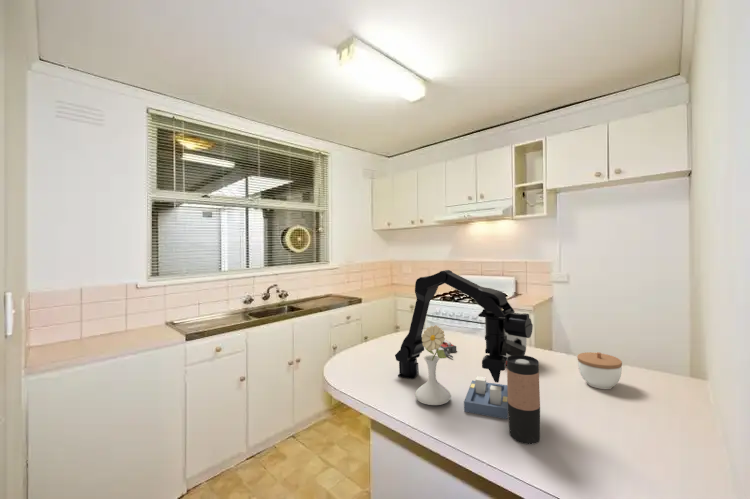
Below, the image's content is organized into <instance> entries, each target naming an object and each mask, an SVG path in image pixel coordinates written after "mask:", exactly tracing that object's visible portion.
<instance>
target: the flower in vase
mask: <svg viewBox="0 0 750 499" xmlns="http://www.w3.org/2000/svg"><path fill="white" fill-rule="evenodd" d="M444 341H446V338H445V331H444V330H443V329H442V328H441V327H439V326H438V325H430V326H429V327H426V329H425V330H423V333H422V342H423V343H422V345H423V346H424V350H426V351H427V353H430V355H429V354H428V355H426V356H424V357H423V360H424V361H425V363H426V365H427V369H428V379H427V381H425V382H424V383H423V384H422V385H420V386H419V387H418V388H417V389H416V391H415V394H414V395H415V399H416V400H417V401H418V402H420V403H422V404H424V405H429V406H442V405H445V404H447V403H449V401H450V400H451V398H452V395H451V392H450V391H449V390H448V389H447V388H446V387H445V386H444V385H443V384H441V383H440V382H439V381H438V379H437V374H436V373H437V372H436V371H437V364H438V362H439V360H440V359H447V357H448V356H447V355H445V353H444V351H443V350H438V349H439V348H440V347H441V345H442V344H443V342H444ZM434 350H435V353H434ZM436 350H437V351H436ZM431 354H432V355H431Z"/></svg>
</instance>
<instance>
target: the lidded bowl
mask: <svg viewBox="0 0 750 499" xmlns="http://www.w3.org/2000/svg"><path fill="white" fill-rule="evenodd" d="M576 357H577V366H578V370H579V375H580V376H581V377H582V379H583V380H584V381H585V382H586V383H587V385H588V386H589V387H592V388H595V389H598V390H611V389H612V388H613V387H614V386H616V385H618V383H619V382H620V380H621V377H622V366H623V361H622V360H621V359H620V358H618V357H616V356H613V355H610V354H605V353H602V352H581V353H578V354H577V356H576Z"/></svg>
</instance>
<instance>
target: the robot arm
mask: <svg viewBox="0 0 750 499" xmlns="http://www.w3.org/2000/svg"><path fill="white" fill-rule="evenodd" d="M444 284H446V285H448V286H449V287H451V288H453V289H455V290H457V291H459V292H460V293H463V294H464V295H467V296H468V297H470V298H472V299H473V300H474V301H475V302H476V303H477V305H478V306H480V307H481V308H483V309H482V311H481V312H480V313H478V314H477V316H478V317H479V318H484V323H485V326H484V327H485V335H484V340H485V350H484V351H485V352H484V353H485V355H484V356H483V358H482V359H481V367H482V369H485V370H489V373H490V374H491V377H492V378H493V381H494V383H496V384H499V382H500V378H501V377H500V376H501V371H502V372H503V371H506V366H507V365H506V361H507V357H504V356H506V353H507V354H509V355H511V356H512V355H524V354H525V355H526V353H527V352H526V351H527V346H526V347H525V345H522V341H521V340H520V339H518V338H516V339H515V340H514V341H512V340H511V341H510V340H507V335H506V334H505V332H506V333H508V334H509V335H513V336H519V337H525V338H526V339H530V338H531V337H532V334H533V327H534V324H533V323H532V319H531V317H530V314H529V313H524V312H523V313H519V312H515V310H514V308H513V307H512V305H511V304H510V303H509V301H508V300H507V296H506V294H505V293H504V292H502V291H500V290H498V289H494V288H491V287H485V286H481V285H478V284H477V283H475V282H473V281H471V280H468V279H467V278H465V277H463V276H461V275H459V274H456V273H454V272H452V270H449V269H445V270H440V271H439V272H437V273H435V274H432V275H428V276H427V275H426V276H421V277H419V278H417V279H416V280H415V284H414V294H415V296H416V300H415V305H414V309H413V313H412V316H411V322H410V326H409V331H408V333H407V335H406V336H405V338H404V339H403V340H402V343H401V345H400V349H399V350H398V352H397V353H395V354H394V356H395V360H396V362H398V363H399V364H398V368H399V370H398V371H399V373H398V375H397V377H399V378H406V379H413V380H414V379H415V378H416V377H417V376H418V374H419V373H420V371H419V362H418V358H420V356H421V354H422V352H424V351H425V347H424V346H423V345H422V343H423V342H422V334H423V333H424V327H425V323H426V318H427V315H428V311H429V306H430V302H431V300H433V298H434V296H435V295H436V293H437V291H438V289H439V286H442V285H444Z"/></svg>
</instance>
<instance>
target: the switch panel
mask: <svg viewBox="0 0 750 499" xmlns="http://www.w3.org/2000/svg"><path fill="white" fill-rule="evenodd" d="M491 385H492V386H499V387H501V399H502V401H501V405H495V404H490V387H491ZM486 389H487V390H486V393H485V394H478V393H476V385H475V380H472V381H471V383H470V385H469V388H468V390H467V392H466V396H465V398H464V399H463V400H464V401H463V412H466V413H471V414H476V415H481V416H486V417H487V416H488V417H491V418H492V417H493V418H499V419H505V420H508V419H509V415H508V391H507V384H501V383H496V382H494V383H493V382H487V381H486Z"/></svg>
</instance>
